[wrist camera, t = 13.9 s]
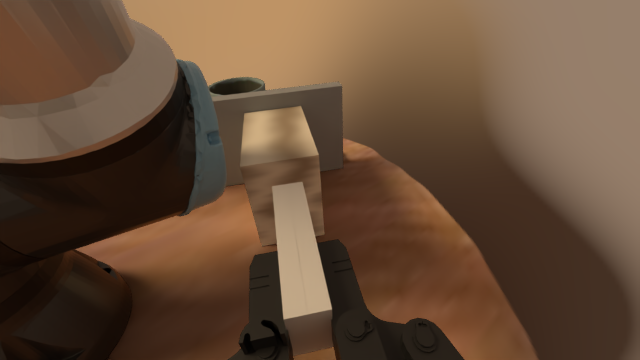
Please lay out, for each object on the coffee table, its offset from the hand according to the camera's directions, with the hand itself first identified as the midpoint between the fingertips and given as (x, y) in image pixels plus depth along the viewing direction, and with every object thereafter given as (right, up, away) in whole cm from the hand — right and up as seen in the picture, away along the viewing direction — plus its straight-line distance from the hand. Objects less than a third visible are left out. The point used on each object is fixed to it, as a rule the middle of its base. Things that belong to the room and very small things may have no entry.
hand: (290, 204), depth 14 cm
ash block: (-3, -2, +27) cm, 27 cm away
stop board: (-5, +3, +34) cm, 35 cm away
